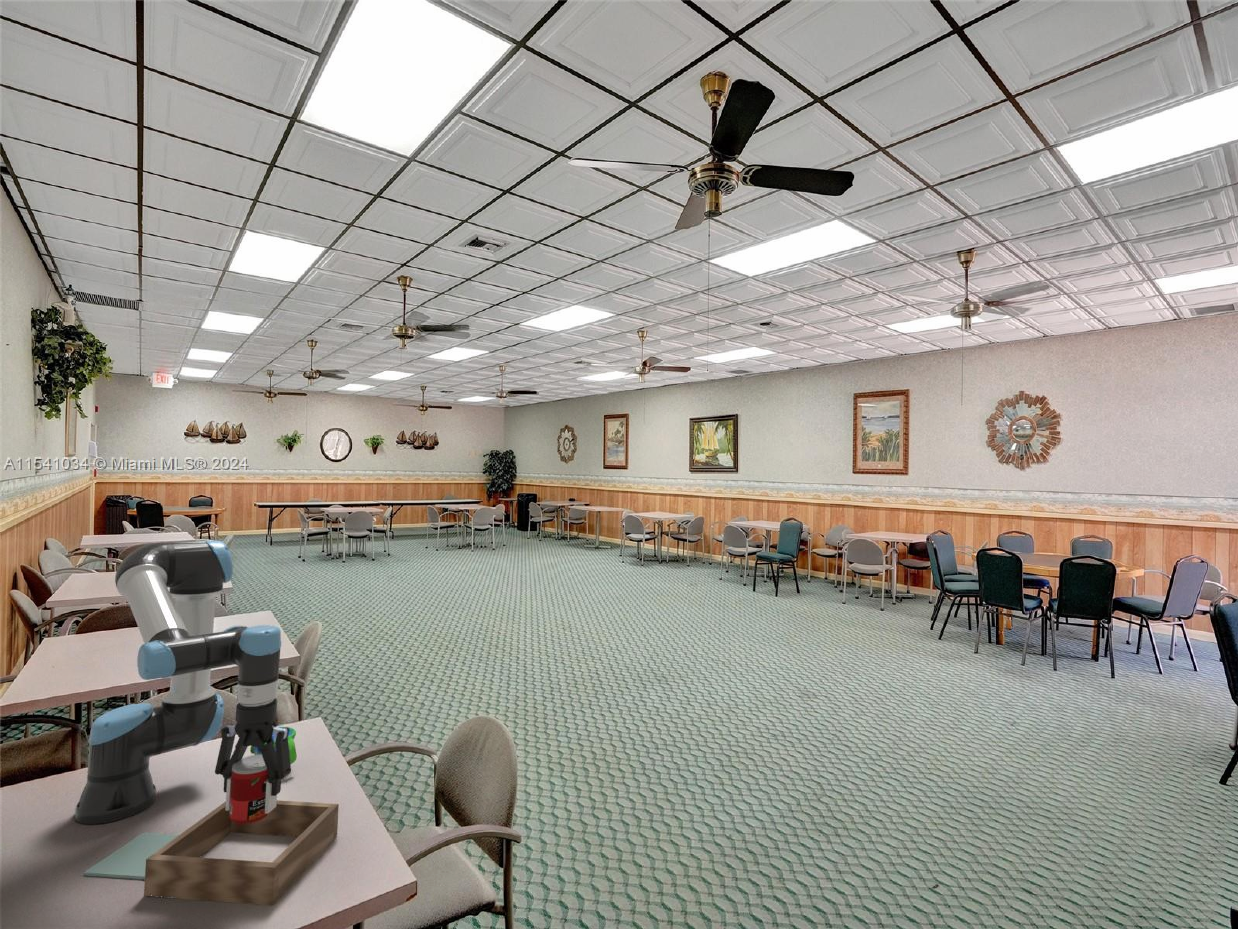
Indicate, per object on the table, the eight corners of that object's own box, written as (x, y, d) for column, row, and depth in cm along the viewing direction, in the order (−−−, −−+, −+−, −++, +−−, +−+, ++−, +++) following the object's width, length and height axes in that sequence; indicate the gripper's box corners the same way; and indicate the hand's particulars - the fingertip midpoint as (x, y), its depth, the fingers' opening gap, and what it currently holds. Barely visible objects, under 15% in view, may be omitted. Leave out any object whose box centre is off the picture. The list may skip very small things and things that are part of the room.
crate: (143, 896, 114) (146, 859, 114) (229, 828, 137) (230, 797, 137) (272, 905, 112) (274, 867, 113) (337, 835, 135) (338, 804, 136)
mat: (83, 875, 119) (83, 872, 119) (143, 835, 133) (143, 832, 133) (148, 880, 119) (149, 877, 119) (202, 839, 133) (202, 836, 133)
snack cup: (307, 770, 166) (309, 733, 166) (270, 786, 156) (272, 747, 157) (274, 756, 173) (276, 721, 174) (237, 771, 164) (239, 734, 164)
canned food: (252, 827, 121) (255, 773, 121) (219, 821, 122) (222, 768, 123) (280, 807, 128) (283, 756, 129) (249, 802, 130) (252, 752, 130)
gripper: (197, 704, 123) (190, 815, 122) (293, 710, 122) (287, 822, 121) (223, 691, 131) (217, 796, 130) (314, 697, 129) (308, 802, 128)
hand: (251, 808), depth 125 cm, fingers closed on canned food, 8 cm apart
